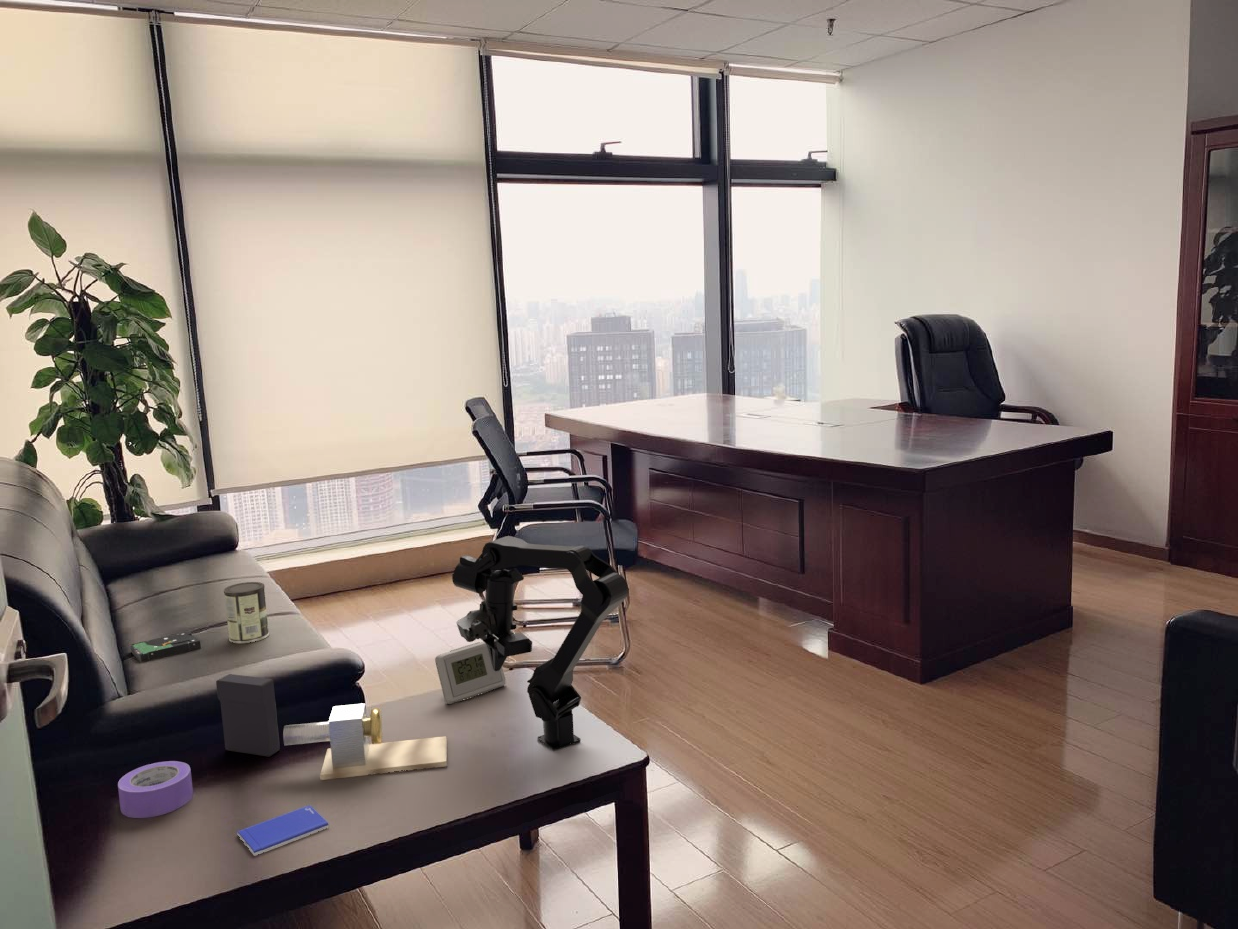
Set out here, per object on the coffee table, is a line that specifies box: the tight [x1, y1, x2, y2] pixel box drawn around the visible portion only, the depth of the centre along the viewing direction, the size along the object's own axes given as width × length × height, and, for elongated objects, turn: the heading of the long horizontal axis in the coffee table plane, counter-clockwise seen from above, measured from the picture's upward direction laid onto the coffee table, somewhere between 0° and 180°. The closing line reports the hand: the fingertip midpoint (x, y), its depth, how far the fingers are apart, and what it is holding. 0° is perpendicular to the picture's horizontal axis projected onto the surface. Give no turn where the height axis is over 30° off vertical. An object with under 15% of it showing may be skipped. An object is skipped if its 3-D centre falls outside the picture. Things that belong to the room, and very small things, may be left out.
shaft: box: [282, 707, 383, 746], centre depth 180 cm, size 18×7×7 cm, turn 100°
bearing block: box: [328, 703, 369, 769], centre depth 180 cm, size 6×7×9 cm
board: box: [319, 736, 448, 781], centre depth 182 cm, size 23×11×1 cm, turn 100°
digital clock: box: [434, 640, 507, 705], centre depth 213 cm, size 16×9×11 cm, turn 121°
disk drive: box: [130, 631, 202, 663], centre depth 248 cm, size 10×3×15 cm
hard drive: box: [236, 804, 330, 857], centre depth 158 cm, size 2×8×12 cm
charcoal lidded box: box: [215, 673, 281, 757], centre depth 187 cm, size 11×4×15 cm, turn 71°
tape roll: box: [117, 760, 194, 819], centre depth 169 cm, size 12×12×5 cm
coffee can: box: [222, 581, 270, 644], centre depth 255 cm, size 10×10×14 cm
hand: (496, 670), depth 194 cm, fingers closed
